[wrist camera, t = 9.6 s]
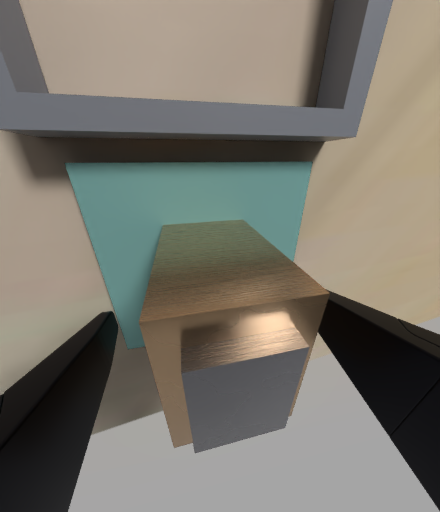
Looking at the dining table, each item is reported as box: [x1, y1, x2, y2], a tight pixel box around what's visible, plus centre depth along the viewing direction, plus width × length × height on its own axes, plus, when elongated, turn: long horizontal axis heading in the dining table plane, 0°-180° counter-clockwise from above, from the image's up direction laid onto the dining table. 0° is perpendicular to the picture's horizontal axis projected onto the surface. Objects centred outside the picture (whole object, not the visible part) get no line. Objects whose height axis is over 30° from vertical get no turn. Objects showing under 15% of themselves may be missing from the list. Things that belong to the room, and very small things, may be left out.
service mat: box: [65, 162, 312, 349], centre depth 12 cm, size 12×12×1 cm
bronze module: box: [139, 219, 330, 453], centre depth 8 cm, size 4×6×8 cm
